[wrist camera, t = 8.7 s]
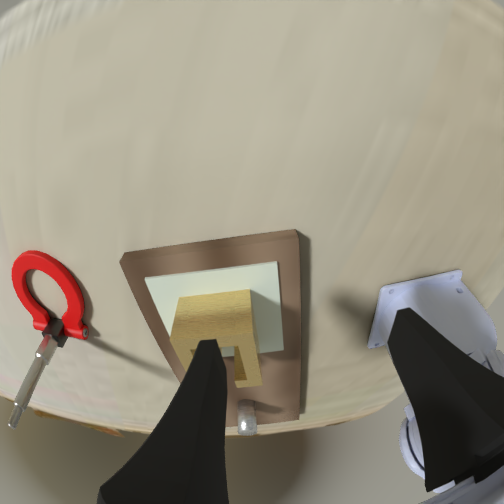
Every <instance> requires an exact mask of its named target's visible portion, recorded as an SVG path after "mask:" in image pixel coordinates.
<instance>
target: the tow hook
mask: <svg viewBox="0 0 504 504" xmlns="http://www.w3.org/2000/svg"><path fill="white" fill-rule="evenodd" d="M30 269H37V270H40V271H43V272H45V273H46V274H48V275H49V276H51V277H52V278H53V279H54V280H55V281H56V282H57V283H58V285H59V286H60V287H61V289H62V290H63V292H64V294H65V296H66V299H67V304H68V309H67V312H65V313H64V315H63V316H62V320H58V319H50V317H49V315H48V313H47V311H46V310H45V309H44V308H42V307H41V306H40V305H39V304H38V303H37V302H36V301H35V300H34V299H33V297H32V296H31V294H30V292H29V290H28V288H27V285H26V273H27V271H28V270H30ZM12 281H13V286H14V289H15V291H16V293H17V296H18V298H19V299H20V301H21V302H22V304H23V306H24V307H25V308H26V309H27V310H28V311H29V312H30V314H32V317H33V319H34V320H33V326H34V328H35V329H36V330H41V331H43V332H42V335H43V337H44V339H43V341H42V342H41V344H40V346H39V348H38V349H37V351H36V354H35V357H36V358H35V360H34V361H33V363H32V365H31V367H30V369H29V371H28V373H27V375H26V377H25V379H24V381H23V383H22V385H21V387H20V390H19V392H18V394H17V396H16V398H15V401H14V403H13V404H14V405H15V407H14V409H13V411H12V414H11V416H10V419H9V422H8V426H10V427H11V428H13V429H16V427H17V424H18V421H19V419H20V416H21V414H22V411H24V412H25V410H26V408H27V405H28V403H29V401H30V398H31V396H32V394H33V391H34V389H35V387H36V385H37V382H38V380H39V378H40V376H41V374H42V372H43V370H44V368H45V366H46V365H48V364H49V362H50V360H51V358H52V356H53V354H54V352H55V350H56V349H57V347H62V348H63V346H64V344H65V342H66V340H67V338H68V337H73V338H78V339H84V340H86V339H87V337H88V327H87V326H86V325H83V323H82V321H81V318H82V317H83V313H84V299H83V296H82V293H81V290H80V288H79V286H78V284H77V283H76V281H75V279H74V278H73V276H72V275H71V274H70V273H69V271H68V270H67V269H66V268H65V267H64V266H63V265H62V264H61V263H60V262H58V261H57V260H56V259H55V258H53V257H51V256H50V255H48V254H46V253H43V252H40V251H26V252H24V253H22V254H21V255H20V256H19V257H18V258H17V259H16V260H15V262H14V264H13V267H12Z"/></svg>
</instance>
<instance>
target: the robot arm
mask: <svg viewBox="0 0 504 504" xmlns="http://www.w3.org/2000/svg"><path fill="white" fill-rule="evenodd" d="M461 277H462V271H461V270H460V269H458V270H454V271H450V272H446V273H441V274H437V275H433V276H428V277H424V278H419V279H414V280H410V281H405V282H400V283H395V284H390V285H385V286H383V287H382V288H381V290H380V293H379V298H378V303H377V307H376V312H375V316H374V320H373V324H372V328H371V332H370V336H369V340H368V344H367V346H368V348H370V349H372V348H376V347H380V346H384V345H385V346H386V348H387V350H388V353H389V355H390V357H391V359H392V361H393V364H394V366H395V368H396V370H397V373H398V375H399V377H400V380H401V382H402V384H403V387H404V389H405V392H406V394H407V397H408V399H409V401H410V404H409V405H407V406H406V407H405V408H404V410H405V413H406V416H407V417H406V418H405V419H404V421H403V422H402V425H401V429H400V435H399V443H400V449H401V452H402V456H403V458H404V460H405V462H406V464H407V465H408V467H409V468H410V469H411V470H412V471H413V472H414V473H416V474H418V475H419V476H421V477H422V478H423V479H424V480H425V487H426V491H427V492H430V491H432V490H433V491H434V492H436V493H440V494H438V495H436V496H434V497H432V498H430V499H428V500H426V501H424V502H421V503H419V504H504V354H503V353H502V352H501V351H500V350H496V345H497V334H496V329H495V326H494V323H493V321H492V319H491V317H490V316H489V314H488V313H487V312H486V310H485V309H484V308H483V307H482V305H481V304H480V303H479V301H478V300H477V299H476V298H475V297H474V295H473V294H472V293H471V292H470V290H469V289H468V288H467V287H466V286H465V285H464V283H463V282H462V281H461ZM391 289H392V290H391ZM390 290H391V291H390ZM227 395H228V389H227V369H226V366H225V363H224V360H223V357H222V354H221V352H220V349H219V346H218V342H217V339H210V340H200V341H199V343H198V345H197V348H196V351H195V353H194V356H193V358H192V361H191V363H190V365H189V367H188V370H187V372H186V374H185V376H184V378H183V380H182V382H181V384H180V386H179V388H178V390H177V392H176V394H175V396H174V398H173V400H172V401H171V403H170V405H169V407H168V408H167V410H166V412H165V413H164V415H163V417H162V418H161V420H160V421H159V423H158V424H157V426H156V427H155V429H154V430H153V431H152V433H151V434H150V435H149V437H148V438H147V439H146V441H145V442H144V443H143V445H142V446H141V447H140V448H139V449H138V451H137V452H136V453H135V454H134V455H133V456H132V457H131V458H130V459H129V461H127V463H126V464H125V465H124V466H123V467H122V468H121V469H120V470H119V471H118V472H116V473H115V474H114V475H113V476H112V477H111V478H110V479H109V480H108V481H106V482H105V483H104V484H103V485H102V486H101V487H100V489H99V493H98V498H97V504H229V500H228V491H227V480H226V468H225V451H224V445H225V425H226V410H227Z"/></svg>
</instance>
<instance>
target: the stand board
mask: <svg viewBox="0 0 504 504" xmlns="http://www.w3.org/2000/svg"><path fill="white" fill-rule="evenodd" d="M274 261H277V268H278V280H279V292H280V305H281V318H282V331H283V346H284V350H281V351H274V352H266V353H260V358H261V370H262V381H263V385H262V386H252V387H242V388H237V387H236V384H235V373H234V356H227V357H223V360H224V363H225V366H226V369H227V389H228V395H227V410H226V425H225V427H233V426H238V413H237V402H238V401H240V400H242V399H251V400H254V401H255V406H256V421H257V425H260V424H270V423H278V422H286V421H293V420H299V410H300V375H301V293H300V257H299V237H298V235H297V232H296V230H295V229H293V230H285V231H277V232H269V233H261V234H254V235H246V236H238V237H231V238H223V239H216V240H209V241H202V242H194V243H187V244H180V245H173V246H166V247H159V248H153V249H146V250H139V251H133V252H126V253H124V255H123V257H122V258H121V260H120V265H121V267H122V270H123V272H124V274H125V277H126V279H127V281H128V284H129V286H130V288H131V290H132V293H133V295H134V297H135V299H136V301H137V303H138V305H139V308H140V310H141V312H142V314H143V316H144V318H145V320H146V322H147V324H148V326H149V328H150V330H151V332H152V334H153V336H154V337H155V339H156V341H157V343H158V345H159V347H160V349H161V351H162V352H163V354H164V356H165V358H166V360H167V361H168V363H169V365H170V367H171V368H172V370H173V372H174V373H175V375H176V377H177V379H178V380H179V382H180V384H181V382H182V380H183V378H184V376H185V374H186V371H185V369H184V367H183V366H182V364H181V362H180V360H179V358H178V356H177V354H176V352H175V350H174V348H173V346H172V344H171V342H170V336H169V334H168V332H167V330H166V328H165V325H164V323H163V321H162V319H161V317H160V315H159V312H158V310H157V308H156V305H155V303H154V301H153V299H152V296H151V294H150V291H149V289H148V287H147V284H146V282H145V277H153V276H162V275H170V274H179V273H187V272H195V271H203V270H212V269H220V268H228V267H236V266H243V265H251V264H259V263H267V262H274Z"/></svg>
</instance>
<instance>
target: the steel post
mask: <svg viewBox="0 0 504 504" xmlns="http://www.w3.org/2000/svg"><path fill="white" fill-rule="evenodd" d="M237 413H238V433H239V434H240V435H254V434H256V433H257V421H256V406H255V401H254V400H251V399H242V400H240V401H238V402H237Z"/></svg>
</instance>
